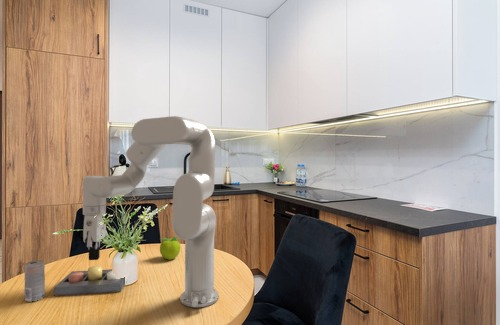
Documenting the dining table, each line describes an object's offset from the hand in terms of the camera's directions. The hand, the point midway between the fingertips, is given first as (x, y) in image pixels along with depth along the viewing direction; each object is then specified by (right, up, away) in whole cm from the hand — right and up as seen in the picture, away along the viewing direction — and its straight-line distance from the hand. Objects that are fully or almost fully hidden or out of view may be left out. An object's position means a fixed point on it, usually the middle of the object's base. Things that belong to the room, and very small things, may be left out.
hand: (94, 259), depth 108 cm
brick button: (-6, -9, -1) cm, 11 cm away
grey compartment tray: (0, -10, 0) cm, 10 cm away
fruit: (+20, -9, +29) cm, 36 cm away
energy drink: (-14, -10, -10) cm, 20 cm away
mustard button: (0, -7, 0) cm, 7 cm away
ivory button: (+7, -9, +1) cm, 12 cm away
